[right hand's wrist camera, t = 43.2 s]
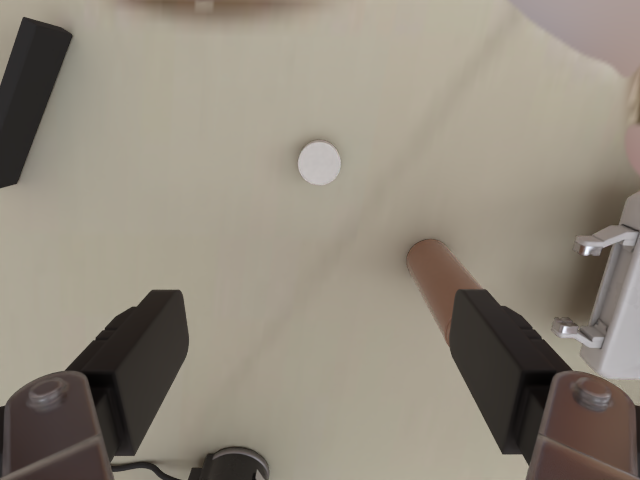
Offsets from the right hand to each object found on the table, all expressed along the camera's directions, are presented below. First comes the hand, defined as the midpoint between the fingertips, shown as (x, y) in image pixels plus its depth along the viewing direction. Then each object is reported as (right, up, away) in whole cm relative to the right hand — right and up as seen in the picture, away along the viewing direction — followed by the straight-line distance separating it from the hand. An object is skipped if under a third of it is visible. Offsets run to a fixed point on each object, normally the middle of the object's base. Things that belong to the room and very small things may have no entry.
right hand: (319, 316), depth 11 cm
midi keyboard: (-29, +16, +28) cm, 43 cm away
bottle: (+13, 0, +34) cm, 36 cm away
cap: (0, +10, +28) cm, 30 cm away
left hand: (+25, -3, +28) cm, 38 cm away
